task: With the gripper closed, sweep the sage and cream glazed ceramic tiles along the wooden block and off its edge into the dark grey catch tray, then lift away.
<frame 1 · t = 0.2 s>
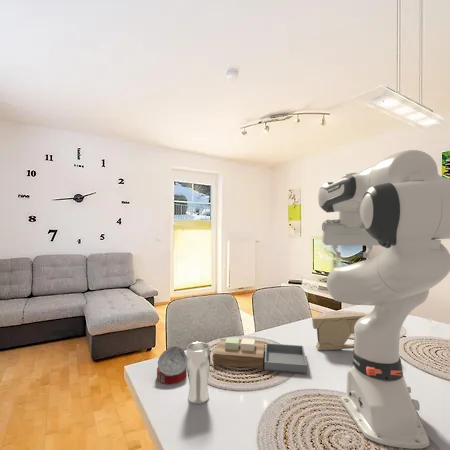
hand: (351, 257, 101), 39 cm above the table, tool pointing down, fingers open, 8 cm apart
canned food: (172, 377, 93), on the table
catch tray: (284, 361, 104), on the table
tile 1: (232, 346, 107), point 4 cm above the table, touching wooden block
tile 2: (248, 347, 106), point 4 cm above the table, touching wooden block
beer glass: (198, 398, 82), on the table
wooden block: (240, 357, 106), on the table
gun: (344, 350, 113), on the table
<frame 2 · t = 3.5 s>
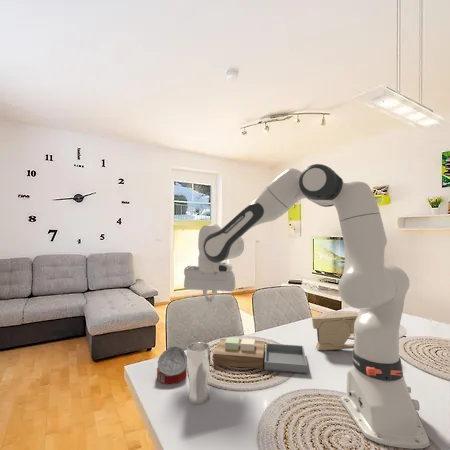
hand: (209, 301, 109), 21 cm above the table, tool pointing down, fingers closed
nothing on the table moved.
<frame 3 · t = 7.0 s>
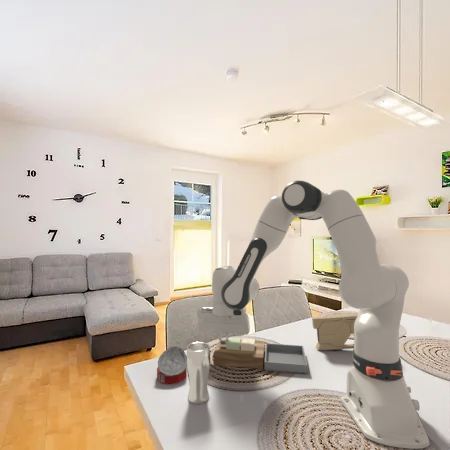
hand: (223, 344, 107), 5 cm above the table, tool pointing down, fingers closed
tile 1: (233, 346, 107), point 4 cm above the table, touching gripper
everything else where it was.
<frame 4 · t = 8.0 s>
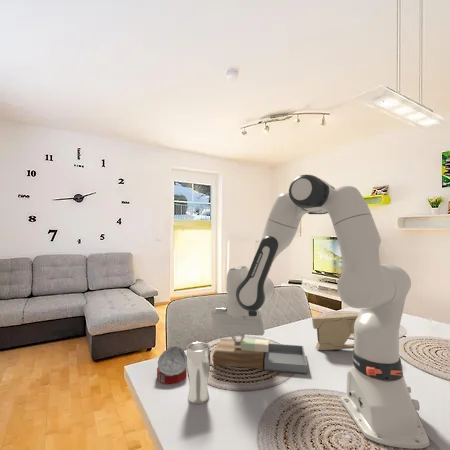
hand: (238, 345, 106), 5 cm above the table, tool pointing down, fingers closed
tile 1: (248, 347, 106), point 4 cm above the table, touching wooden block, gripper, tile 2
tile 2: (261, 348, 105), point 4 cm above the table, touching tile 1
everything else where it was.
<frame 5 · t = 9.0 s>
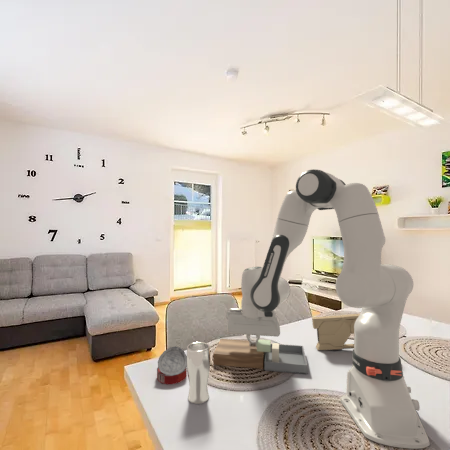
hand: (253, 346, 105), 5 cm above the table, tool pointing down, fingers closed
tile 1: (263, 348, 105), point 4 cm above the table, touching gripper
tile 2: (272, 352, 104), point 3 cm above the table, tilted 90°, touching catch tray
everything else where it was.
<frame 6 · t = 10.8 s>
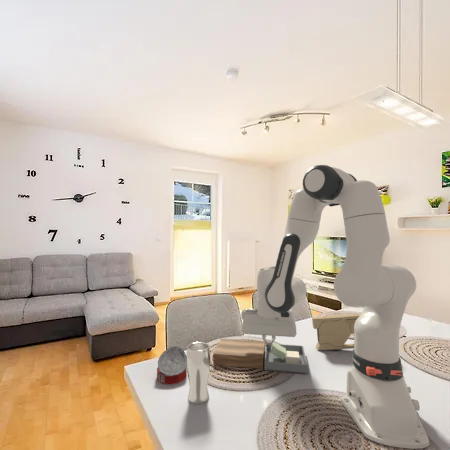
hand: (268, 346, 105), 5 cm above the table, tool pointing down, fingers closed
tile 1: (276, 353, 105), point 2 cm above the table, tilted 25°, touching gripper, tile 2
tile 2: (292, 354, 103), point 3 cm above the table, tilted 180°, touching catch tray, tile 1
everything else where it was.
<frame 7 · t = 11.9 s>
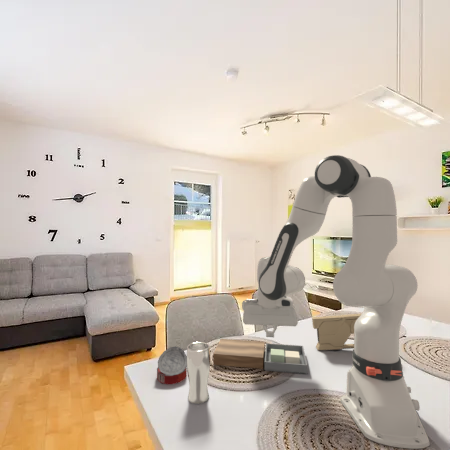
hand: (270, 336, 104), 9 cm above the table, tool pointing down, fingers closed
tile 1: (277, 358, 105), resting on catch tray
tile 2: (292, 354, 103), point 3 cm above the table, tilted 180°, touching catch tray
everything else where it was.
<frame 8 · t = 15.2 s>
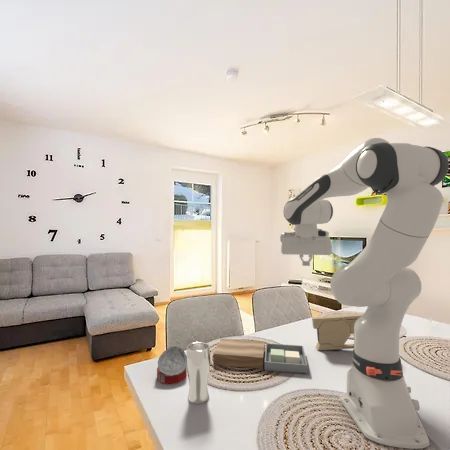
hand: (306, 265, 115), 34 cm above the table, tool pointing down, fingers closed
nothing on the table moved.
at the end: tile 1 inside the target area (2.3 cm from its centre), point 0.5 cm above the table; tile 2 inside the target area (3.2 cm from its centre), point 3.0 cm above the table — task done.
